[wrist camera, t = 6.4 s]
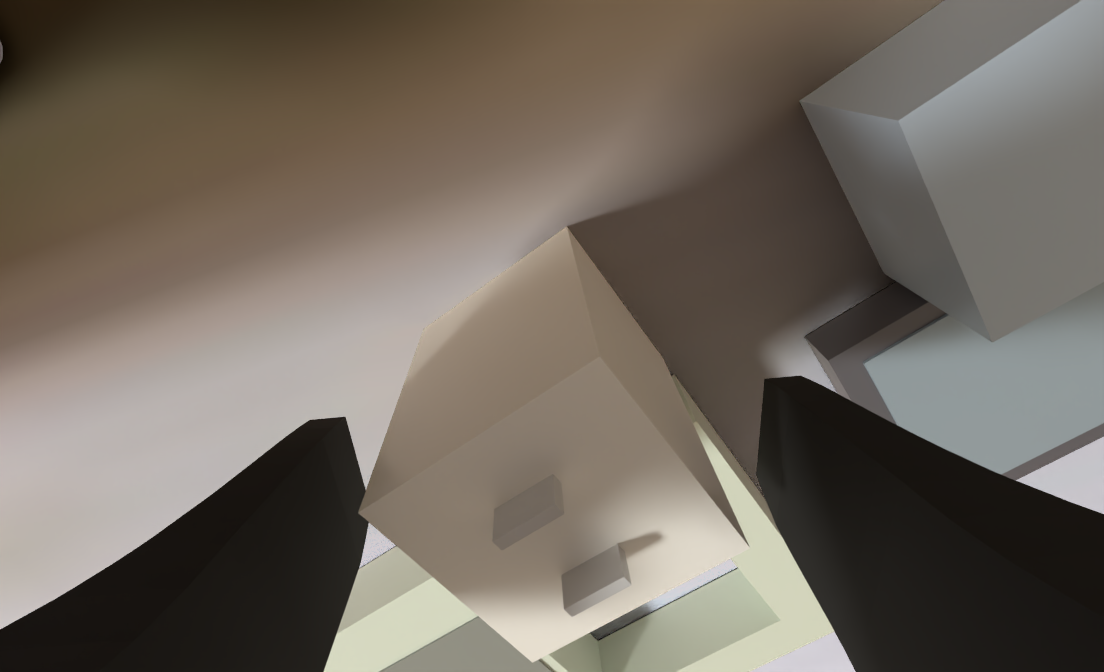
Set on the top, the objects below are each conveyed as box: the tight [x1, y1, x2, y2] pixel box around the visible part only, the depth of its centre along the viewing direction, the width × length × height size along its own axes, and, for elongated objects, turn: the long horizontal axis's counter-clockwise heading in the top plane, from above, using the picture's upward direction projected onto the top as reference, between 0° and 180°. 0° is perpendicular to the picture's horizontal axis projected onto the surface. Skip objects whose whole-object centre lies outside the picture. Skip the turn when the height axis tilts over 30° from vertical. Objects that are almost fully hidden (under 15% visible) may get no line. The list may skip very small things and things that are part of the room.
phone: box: [805, 282, 1104, 480], centre depth 14 cm, size 6×9×1 cm, turn 126°
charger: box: [358, 227, 750, 663], centre depth 11 cm, size 4×4×7 cm
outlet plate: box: [324, 375, 834, 672], centre depth 16 cm, size 8×12×2 cm, turn 126°
